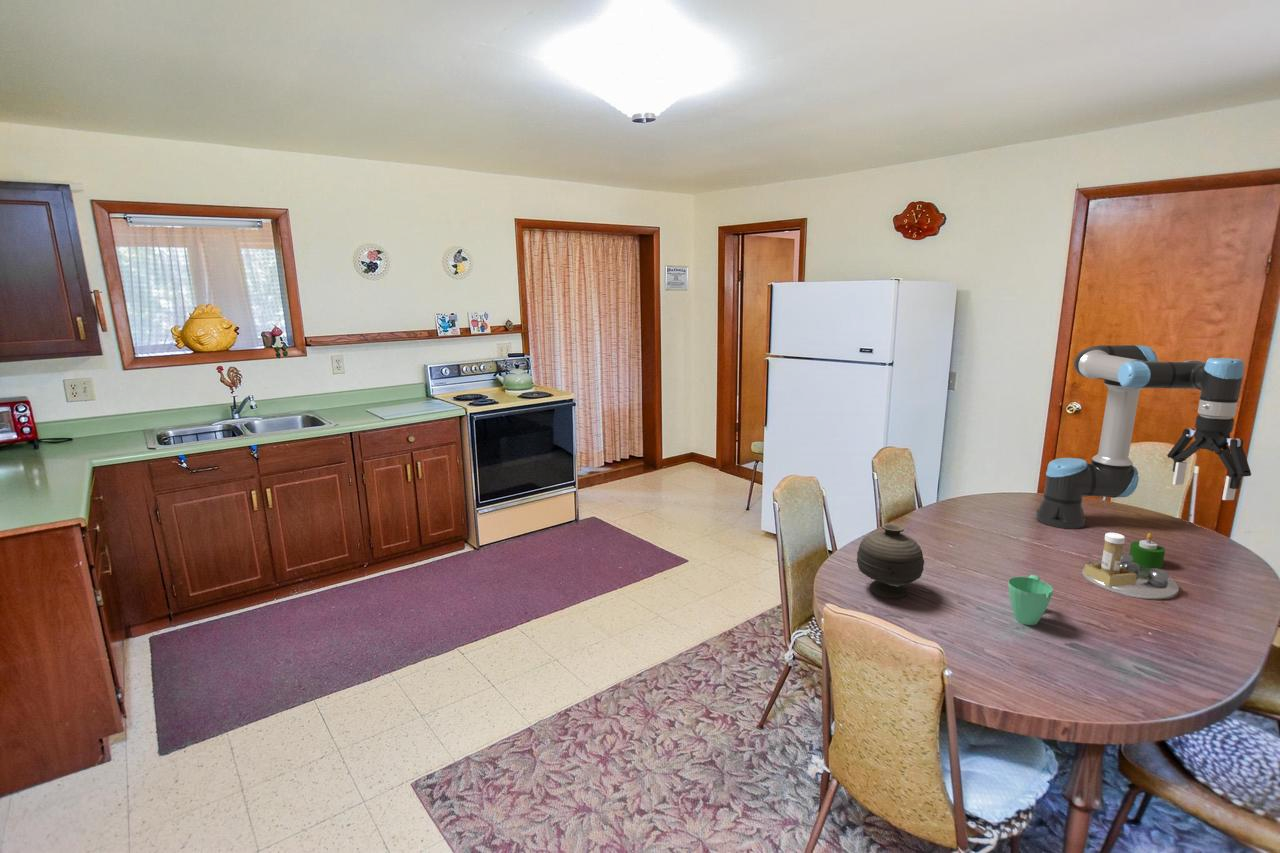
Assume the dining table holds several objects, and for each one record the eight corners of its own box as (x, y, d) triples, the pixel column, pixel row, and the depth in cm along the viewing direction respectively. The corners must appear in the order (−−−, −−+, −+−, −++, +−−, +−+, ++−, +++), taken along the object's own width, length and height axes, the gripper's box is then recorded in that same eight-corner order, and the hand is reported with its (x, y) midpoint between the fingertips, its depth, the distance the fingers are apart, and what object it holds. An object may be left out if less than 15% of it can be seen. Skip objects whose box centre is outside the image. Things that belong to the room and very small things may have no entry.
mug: (1046, 634, 154) (1051, 598, 152) (1001, 622, 160) (1005, 587, 158) (1052, 610, 165) (1056, 576, 163) (1009, 600, 171) (1013, 566, 169)
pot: (869, 567, 192) (878, 508, 186) (928, 591, 179) (939, 528, 174) (841, 588, 180) (849, 526, 174) (902, 615, 167) (913, 548, 162)
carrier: (1064, 568, 190) (1066, 551, 189) (1128, 562, 193) (1130, 546, 192) (1128, 602, 169) (1131, 584, 168) (1199, 596, 171) (1202, 577, 170)
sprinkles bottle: (1121, 582, 177) (1128, 538, 174) (1102, 580, 178) (1109, 537, 175) (1114, 575, 181) (1121, 532, 178) (1096, 574, 183) (1102, 531, 180)
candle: (1163, 562, 193) (1168, 532, 191) (1161, 571, 187) (1166, 540, 185) (1130, 555, 198) (1134, 526, 196) (1126, 563, 192) (1131, 533, 190)
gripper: (1159, 408, 178) (1147, 479, 182) (1254, 426, 153) (1238, 507, 158) (1182, 407, 178) (1170, 477, 183) (1280, 425, 154) (1264, 505, 159)
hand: (1201, 491), depth 170 cm, fingers open, 13 cm apart
